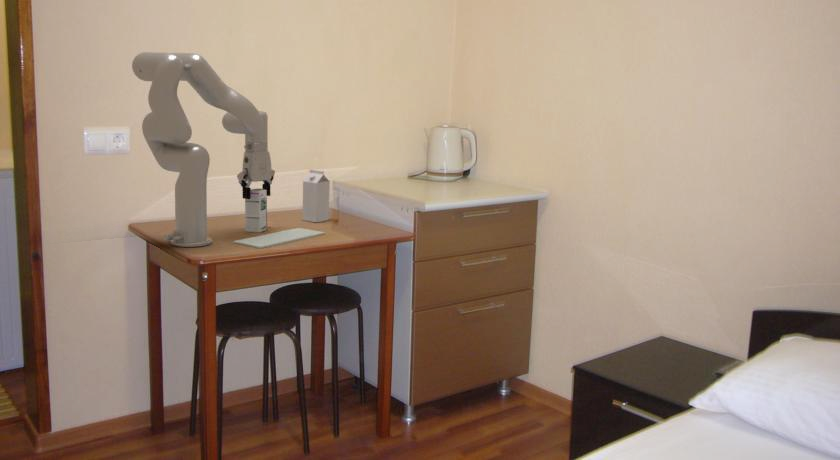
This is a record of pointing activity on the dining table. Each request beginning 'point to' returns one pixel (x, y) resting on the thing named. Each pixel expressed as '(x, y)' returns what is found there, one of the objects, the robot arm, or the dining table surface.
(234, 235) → the dining table surface
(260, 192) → the syrup box
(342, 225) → the dining table surface
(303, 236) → the mat
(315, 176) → the milk carton
